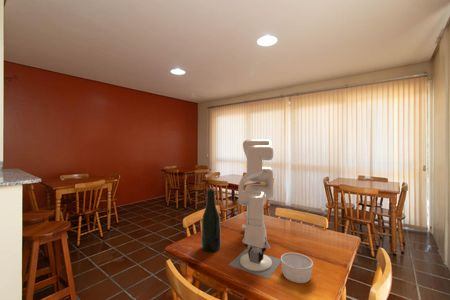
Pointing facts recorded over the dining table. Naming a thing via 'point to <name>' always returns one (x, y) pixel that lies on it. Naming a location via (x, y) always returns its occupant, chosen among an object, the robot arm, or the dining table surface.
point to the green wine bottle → (211, 224)
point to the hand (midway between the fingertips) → (255, 258)
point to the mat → (264, 274)
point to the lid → (255, 261)
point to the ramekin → (296, 267)
